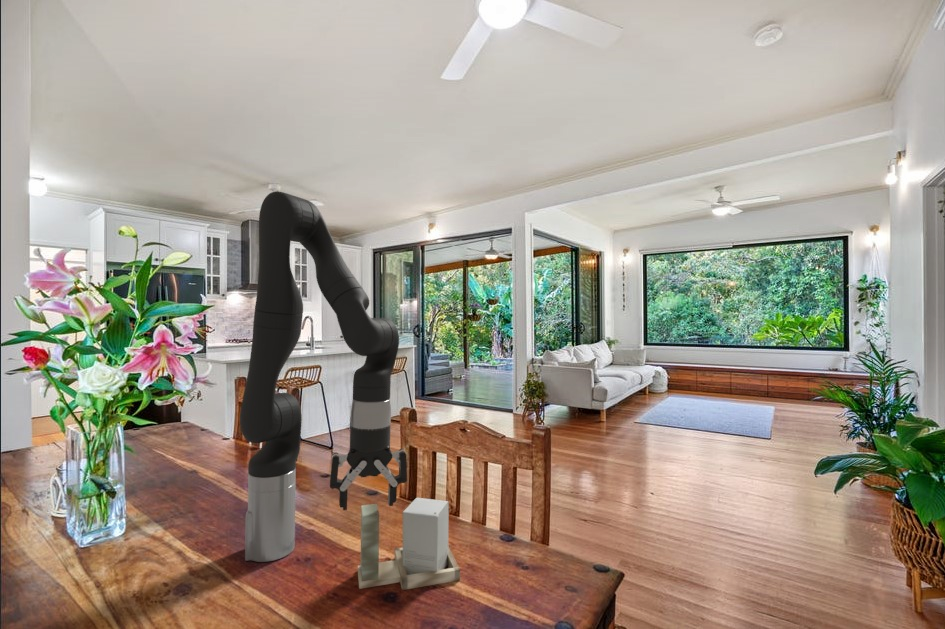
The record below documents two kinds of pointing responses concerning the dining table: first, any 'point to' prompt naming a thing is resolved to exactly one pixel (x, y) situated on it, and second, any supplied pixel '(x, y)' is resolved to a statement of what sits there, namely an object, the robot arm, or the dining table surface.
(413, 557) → the supplement box
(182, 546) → the dining table surface
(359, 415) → the robot arm
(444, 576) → the tray with upright post
